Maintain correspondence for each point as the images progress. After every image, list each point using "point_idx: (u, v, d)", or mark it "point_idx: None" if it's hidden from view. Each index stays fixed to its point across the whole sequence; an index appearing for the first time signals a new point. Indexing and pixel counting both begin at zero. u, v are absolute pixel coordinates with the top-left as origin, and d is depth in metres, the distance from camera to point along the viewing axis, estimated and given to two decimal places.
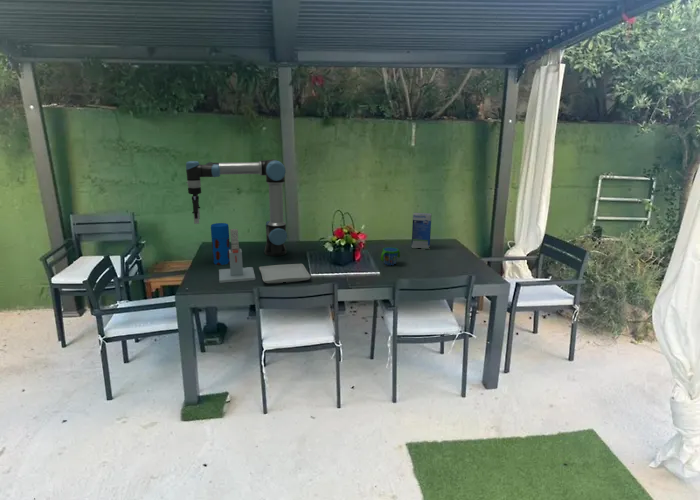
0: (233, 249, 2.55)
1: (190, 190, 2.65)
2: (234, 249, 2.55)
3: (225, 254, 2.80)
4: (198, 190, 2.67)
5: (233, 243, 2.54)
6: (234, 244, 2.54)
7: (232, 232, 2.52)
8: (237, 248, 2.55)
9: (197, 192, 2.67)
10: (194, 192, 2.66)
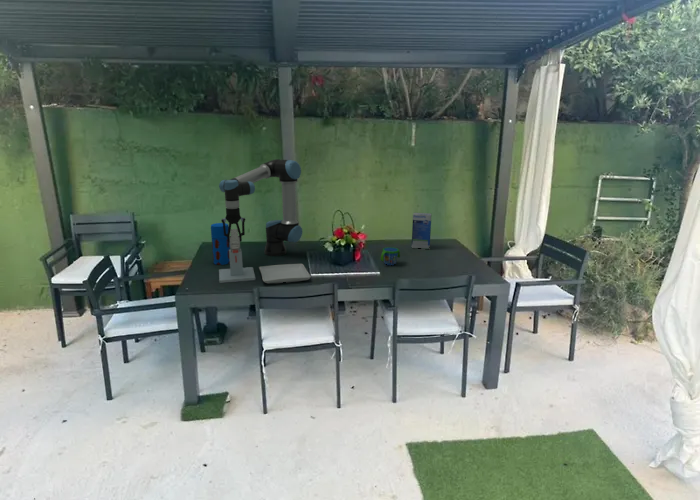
0: (233, 249, 2.55)
1: None
2: (234, 249, 2.55)
3: (225, 254, 2.80)
4: (227, 211, 2.48)
5: (233, 243, 2.54)
6: (234, 244, 2.54)
7: (232, 232, 2.52)
8: (237, 248, 2.55)
9: (227, 213, 2.48)
10: (226, 212, 2.50)
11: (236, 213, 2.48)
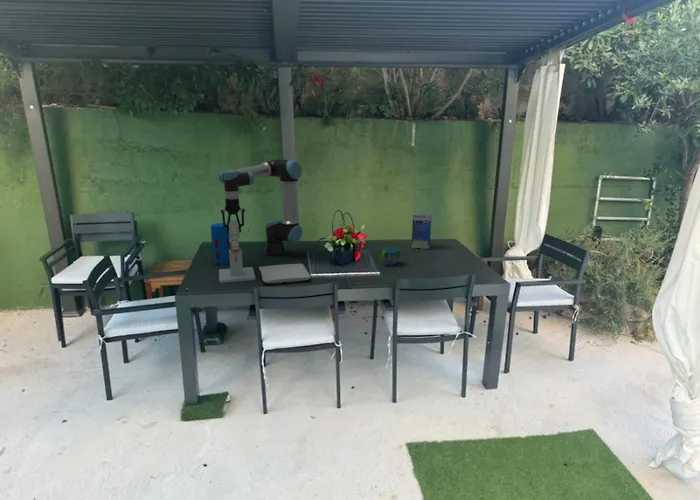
0: (232, 240, 2.53)
1: None
2: (233, 240, 2.53)
3: (225, 254, 2.80)
4: (227, 202, 2.46)
5: (232, 234, 2.52)
6: (233, 235, 2.52)
7: (231, 223, 2.50)
8: (236, 239, 2.54)
9: (226, 203, 2.47)
10: None
11: (235, 203, 2.47)
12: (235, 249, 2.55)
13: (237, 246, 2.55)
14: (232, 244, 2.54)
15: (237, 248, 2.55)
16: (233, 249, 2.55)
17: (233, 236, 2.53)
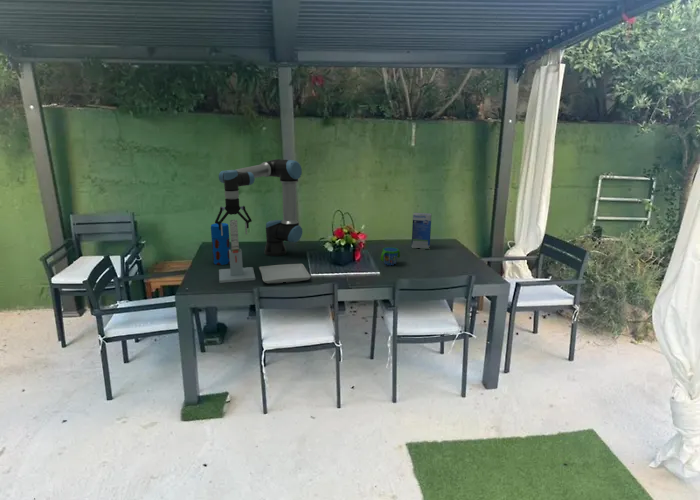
0: (232, 240, 2.53)
1: None
2: (233, 240, 2.53)
3: (225, 254, 2.80)
4: (227, 201, 2.46)
5: (232, 234, 2.52)
6: (233, 235, 2.52)
7: (231, 223, 2.50)
8: (236, 239, 2.54)
9: (226, 203, 2.47)
10: None
11: (235, 203, 2.47)
12: (235, 249, 2.55)
13: (237, 246, 2.55)
14: (232, 244, 2.54)
15: (237, 248, 2.55)
16: (233, 249, 2.55)
17: (233, 236, 2.53)
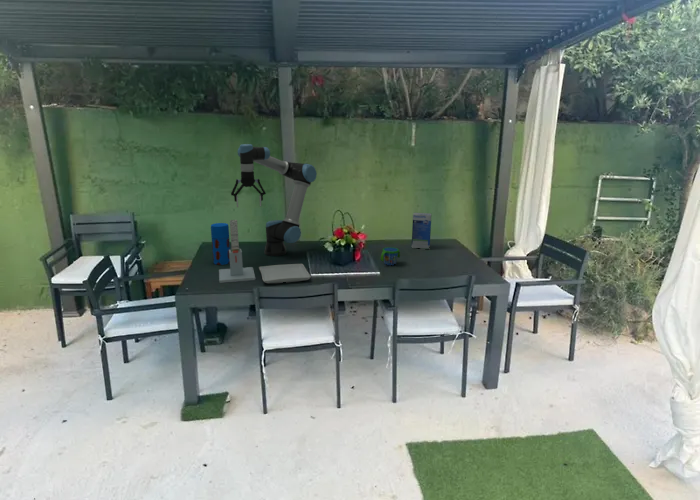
0: (232, 240, 2.53)
1: None
2: (233, 240, 2.53)
3: (225, 254, 2.80)
4: (242, 174, 2.58)
5: (232, 234, 2.52)
6: (233, 235, 2.52)
7: (231, 223, 2.50)
8: (236, 239, 2.54)
9: (242, 176, 2.59)
10: (241, 175, 2.60)
11: (251, 176, 2.59)
12: (235, 249, 2.55)
13: (237, 246, 2.55)
14: (232, 244, 2.54)
15: (237, 248, 2.55)
16: (233, 249, 2.55)
17: (233, 236, 2.53)
